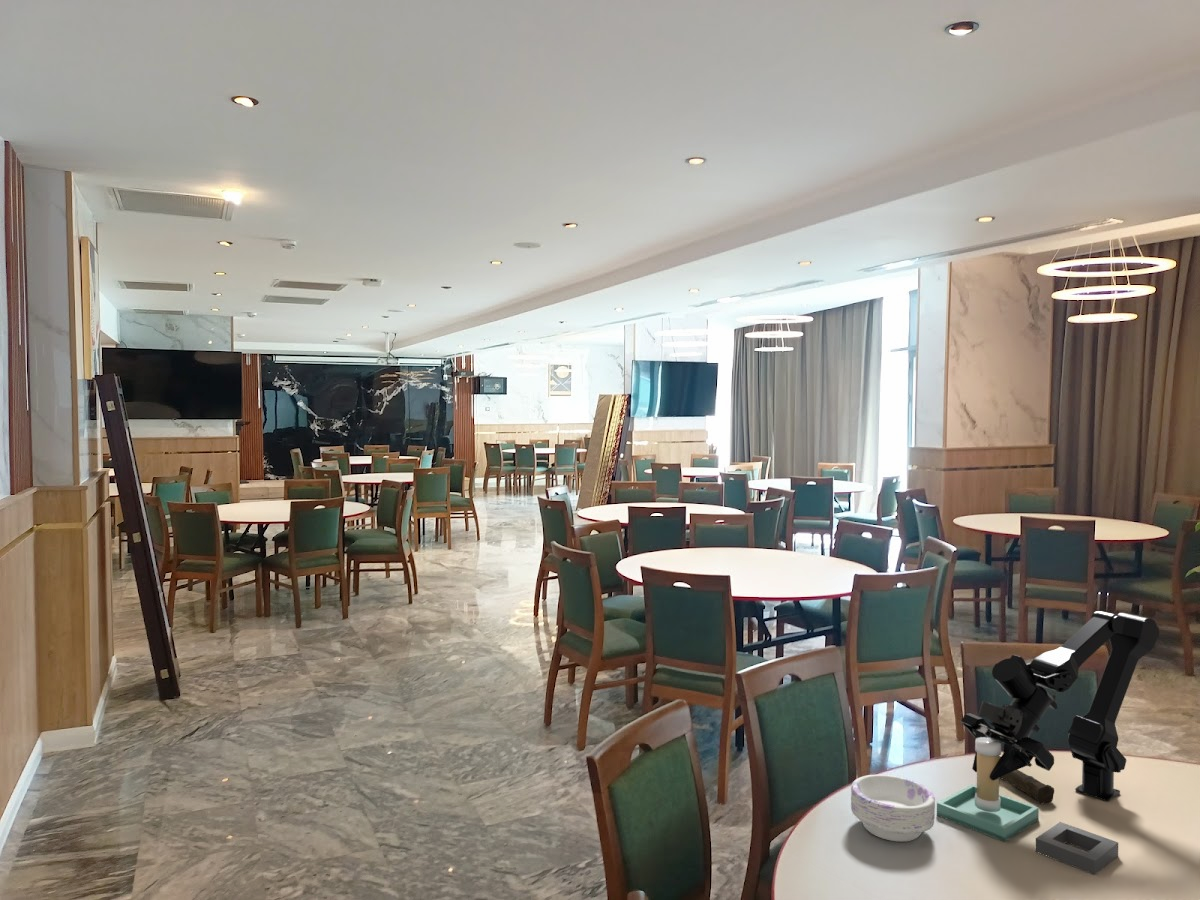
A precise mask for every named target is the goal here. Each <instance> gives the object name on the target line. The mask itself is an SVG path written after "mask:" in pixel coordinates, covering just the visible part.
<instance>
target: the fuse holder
mask: <svg viewBox="0 0 1200 900" xmlns="http://www.w3.org/2000/svg"><path fill="white" fill-rule="evenodd" d="M1064 843H1065V844H1064ZM1066 843H1067V844H1066ZM1069 844H1070V845H1069ZM1072 845H1073V846H1072ZM1074 846H1075V847H1074ZM1077 847H1078V848H1077ZM1085 850H1086V851H1085ZM1038 852H1039V854H1040V853H1041V854H1040V855H1043V854H1044V855H1043V856H1045V855H1047V856H1046V857H1048V856H1049V857H1048V858H1050V857H1051V858H1050V859H1054V860H1055V859H1056V861H1059V862H1061V863H1064V864H1066V865H1068V866H1071V867H1074V868H1076V869H1079V870H1082V871H1083V872H1087V873H1089V874H1092V875H1093V876H1094V875H1097V874H1098V873H1099V872H1100V871H1102V870H1103V869H1105V867H1107V866H1108V865H1109V864H1110V863H1111V862H1114V860H1115V859H1116V858H1118V857H1119V842H1118V841H1117V840H1112V839H1109V838H1106V837H1104V836H1102V835H1099V834H1096V833H1092V832H1090V831H1087V830H1084V829H1082V828H1080V827H1075V826H1073V825H1071V824H1068V823H1064V822H1062V821H1059V822H1057V823H1056V824H1055V825H1053V826H1052V827H1050V828H1049V829H1047V830H1046V831H1044V832H1043V833H1041V834H1039V835H1038V836H1037V837H1035V853H1038Z"/></svg>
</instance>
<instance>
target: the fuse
mask: <svg viewBox="0 0 1200 900" xmlns="http://www.w3.org/2000/svg"><path fill="white" fill-rule="evenodd" d="M974 745H975V746H974V750H975V753H976V752H977V772H976V786H977V793H975V806H976V807H977V808H979V809H981V810H983V811H988V812H997V811H999V810H1000V802H1001V799H1000V797H999V794H1000V778H998V779H996V780H994V781H993V780H991V779H990V774H991V772H992V770H993V769H994V767H995V766H996V764H997V762H998V761H999V756H1002V743H1001V742H1000V741H998V740H996V739H993V738H987V737H980V738H975V743H974Z"/></svg>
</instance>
